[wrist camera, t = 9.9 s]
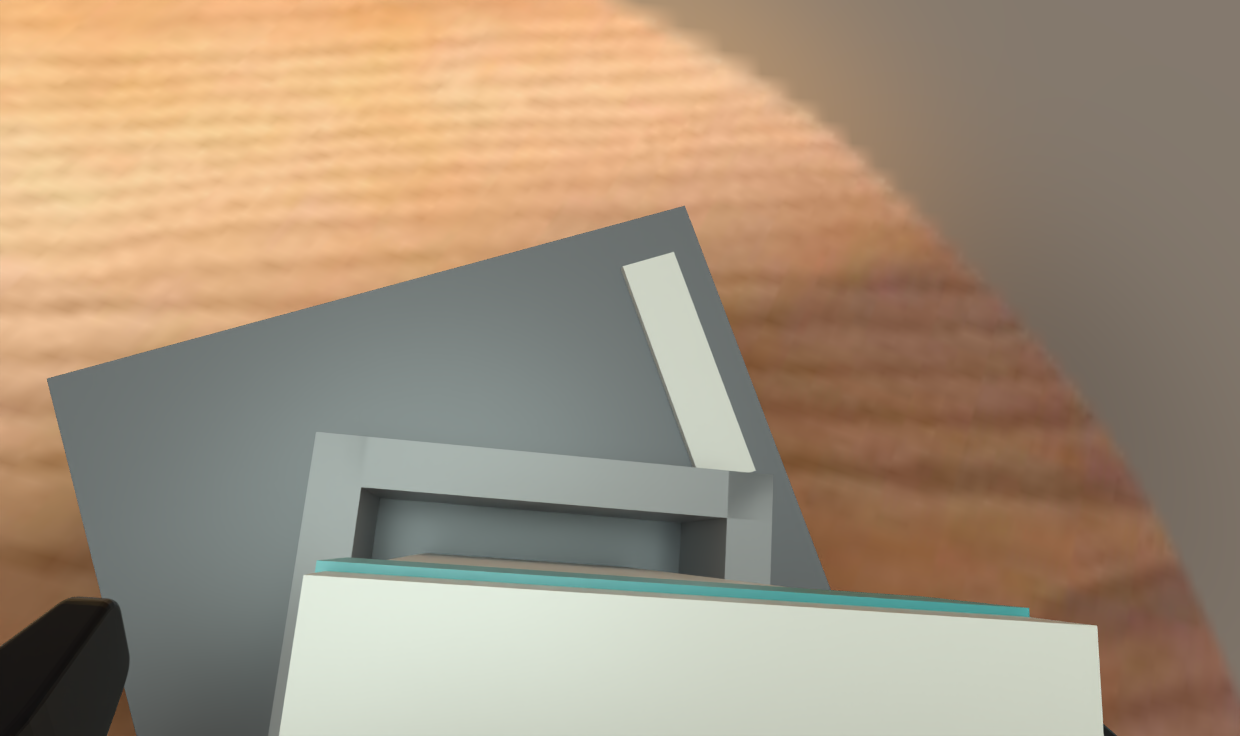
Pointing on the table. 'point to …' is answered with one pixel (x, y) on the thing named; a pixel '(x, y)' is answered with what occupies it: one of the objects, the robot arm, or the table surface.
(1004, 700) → the plug
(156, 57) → the table surface
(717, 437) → the port panel
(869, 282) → the table surface
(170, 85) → the table surface
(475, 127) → the table surface
